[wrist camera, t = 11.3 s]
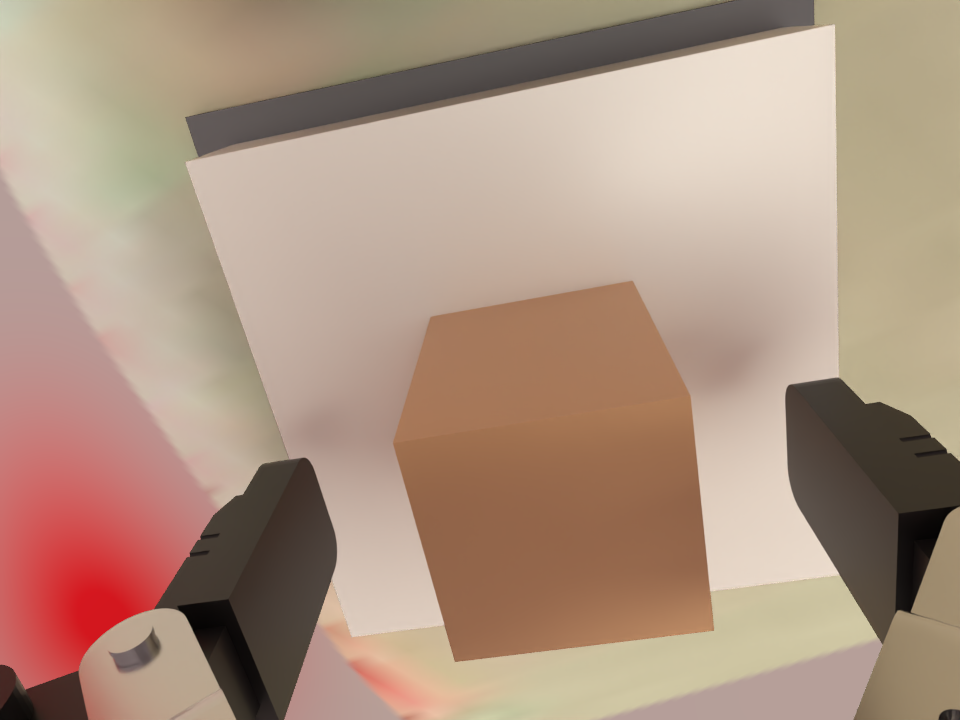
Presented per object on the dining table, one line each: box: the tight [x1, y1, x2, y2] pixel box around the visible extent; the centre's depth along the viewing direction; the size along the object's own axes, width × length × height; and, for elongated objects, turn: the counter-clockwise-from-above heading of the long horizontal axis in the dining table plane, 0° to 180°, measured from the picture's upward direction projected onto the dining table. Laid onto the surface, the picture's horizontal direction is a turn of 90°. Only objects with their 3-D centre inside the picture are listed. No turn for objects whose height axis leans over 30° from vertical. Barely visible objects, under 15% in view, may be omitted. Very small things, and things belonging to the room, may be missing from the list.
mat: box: [185, 0, 814, 157], centre depth 18 cm, size 13×13×1 cm
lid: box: [185, 24, 840, 662], centre depth 14 cm, size 12×12×8 cm
